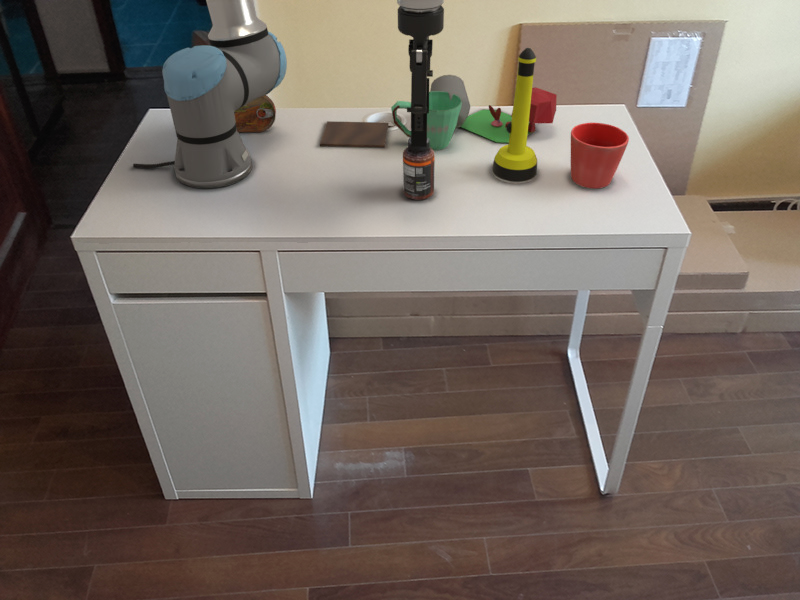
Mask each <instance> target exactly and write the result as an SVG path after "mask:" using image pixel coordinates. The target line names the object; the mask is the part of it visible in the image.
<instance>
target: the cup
mask: <svg viewBox="0 0 800 600" xmlns="http://www.w3.org/2000/svg"><path fill="white" fill-rule="evenodd" d="M433 91H442V92H448V93H449V95H450V100H451V99H452V96H453V94H455V95H457V96H458V97H459V98H461V101H462V105H461V109H460V112H459V116H458V120H457V124H456V127H455V130H457V129H459V128H461V126H462V124H463V123H464V122H465V120H466V118H467V116H469V114H470V111H471V103H470V99H469V97H468V93H467V89H466V85H465V82H464V80H463V79H462V78H461V77H460V76H457V75H453V74H444V75H440V76H438V77H436V78H435V79H433V81H432V82H431V84H430V89H429V92H433Z"/></svg>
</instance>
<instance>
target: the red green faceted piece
mask: <svg viewBox="0 0 800 600" xmlns="http://www.w3.org/2000/svg"><path fill="white" fill-rule="evenodd" d="M557 97H558V95H557V94H556V93H553V92H551V91H547V90H545V89H542V88H539V87H536V86H535V87H532V94H531V104H530V114H529V124H528V135H530V134H532V133H534V132H536V124H553V123H554V119H555V115H556V112H557V100H558V99H557ZM512 112H513V110H512ZM512 112H511V113H512ZM511 120H512V114H511V115H510V114H509V113H507V112H503V111H502V108H501V107H497V108H496V109H494V107H493V106H492V105H490V104H489V105H488V109H485V108H484V109H480V110H478V111H476V112H473V113H472V114H470V115H469V114H468V116H467V118H466V120H465V122H464V123H463V124H462V126H460V128H461V129H464V130H465V131H468V132H471V133H473V134H475V135H478V136H480V137H483V138H484V139H487V140H490V141H492V142H494V143H498V144H499V143H500V144H509V136H510V133H509V132H508V131H507V125H508V124H509V123H510V122H511Z"/></svg>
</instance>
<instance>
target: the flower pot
mask: <svg viewBox="0 0 800 600" xmlns="http://www.w3.org/2000/svg"><path fill="white" fill-rule="evenodd" d="M629 141H630V137H629V135H628V133H627V132H626V131H625V130H623V129H621V128H620V127H618V126H615V125H612V124H608V123H602V122H584V123H583V122H582V123H579V124H577V125H575V126H573V128H572V129H571V131H570V177H571V180H572V181H573V182H574V183H575V184H576V185H578V186H580V187H583V188H586V189H597V190H598V189H602V188H606V187H608V186H609V185H610V184H611V182H612V181H613V178H614V176H615V174H616V172H617V170H618V168H619V165H620V163H621V161H622V159H623V156H624V154H625V152H626V149H627V147H628V144H629Z"/></svg>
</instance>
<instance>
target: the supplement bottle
mask: <svg viewBox="0 0 800 600" xmlns="http://www.w3.org/2000/svg"><path fill="white" fill-rule="evenodd" d="M429 146H430V145H429V138H428V137H427V147H411V137H410V138H409V137H408V138H407V147H406V148H404V150H403V152H402V177H403V178H402V179H403V180H402V183H403V184H402V186H403V194H404V195H405V197H407V198H408V199H411V200H417V201H420V200H426V199H429V198H430V197H432V196H433V194H434V193H435V163H436V162H435V160H436V159H435V157H436V156H435V150H433V149H432V148H430V147H429Z"/></svg>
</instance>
